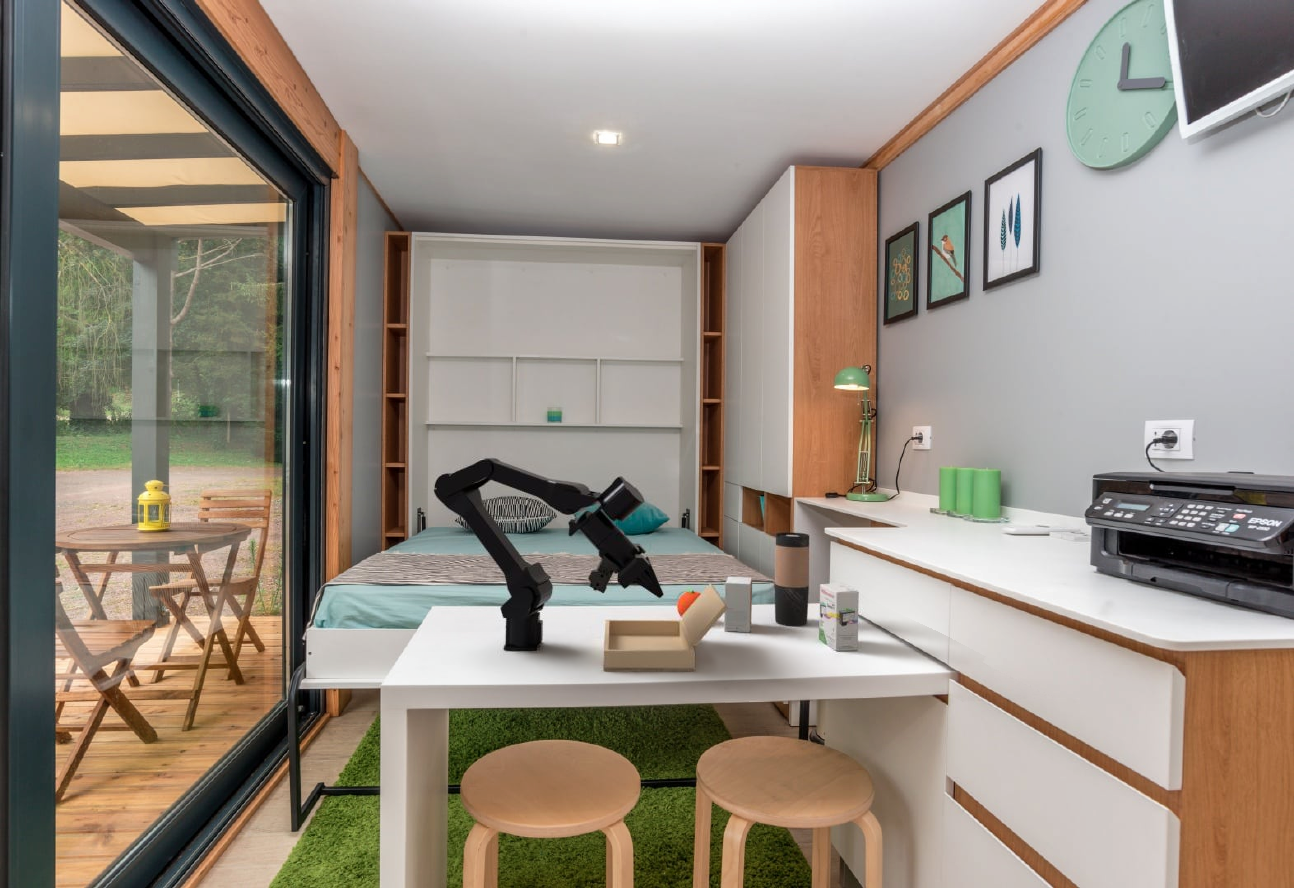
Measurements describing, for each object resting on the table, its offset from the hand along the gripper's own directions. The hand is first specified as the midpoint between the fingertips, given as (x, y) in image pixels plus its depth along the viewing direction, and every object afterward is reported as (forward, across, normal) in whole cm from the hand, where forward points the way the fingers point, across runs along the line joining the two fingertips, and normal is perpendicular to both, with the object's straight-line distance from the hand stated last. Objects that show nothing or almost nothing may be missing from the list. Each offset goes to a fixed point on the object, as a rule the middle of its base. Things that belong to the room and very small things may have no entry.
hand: (661, 596), depth 134 cm
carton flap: (+8, 0, -1) cm, 8 cm away
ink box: (+33, -6, +18) cm, 38 cm away
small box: (+21, -19, +5) cm, 29 cm away
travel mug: (+30, -24, +15) cm, 41 cm away
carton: (+6, 0, -10) cm, 11 cm away
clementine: (+14, -24, -2) cm, 28 cm away
